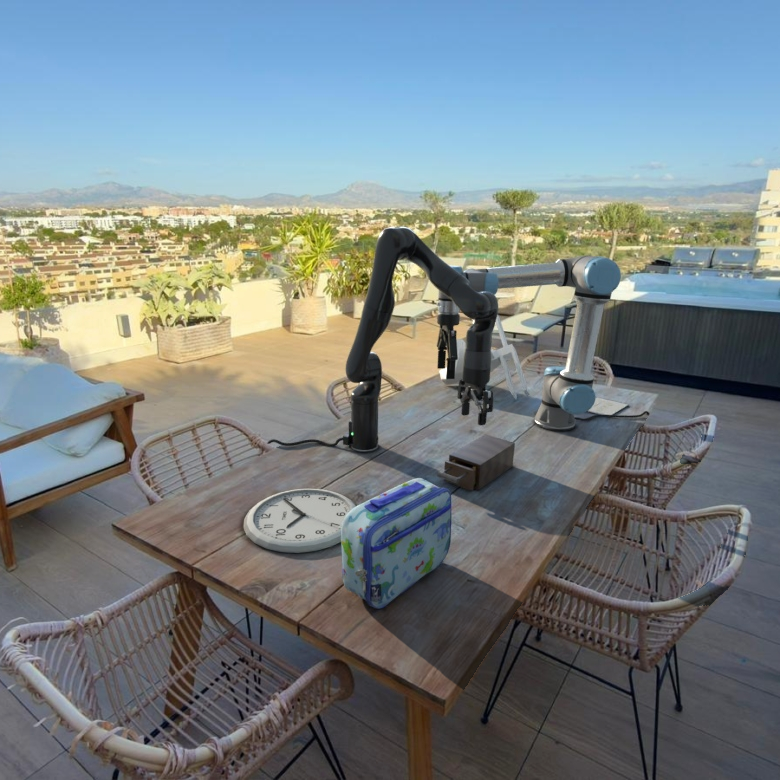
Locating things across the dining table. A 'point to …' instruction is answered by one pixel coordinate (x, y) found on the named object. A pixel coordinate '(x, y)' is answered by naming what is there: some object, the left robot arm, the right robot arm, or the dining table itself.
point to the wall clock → (298, 520)
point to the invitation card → (606, 407)
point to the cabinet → (486, 458)
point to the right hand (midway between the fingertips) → (445, 373)
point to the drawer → (459, 474)
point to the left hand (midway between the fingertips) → (473, 419)
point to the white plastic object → (496, 360)
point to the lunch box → (395, 540)
